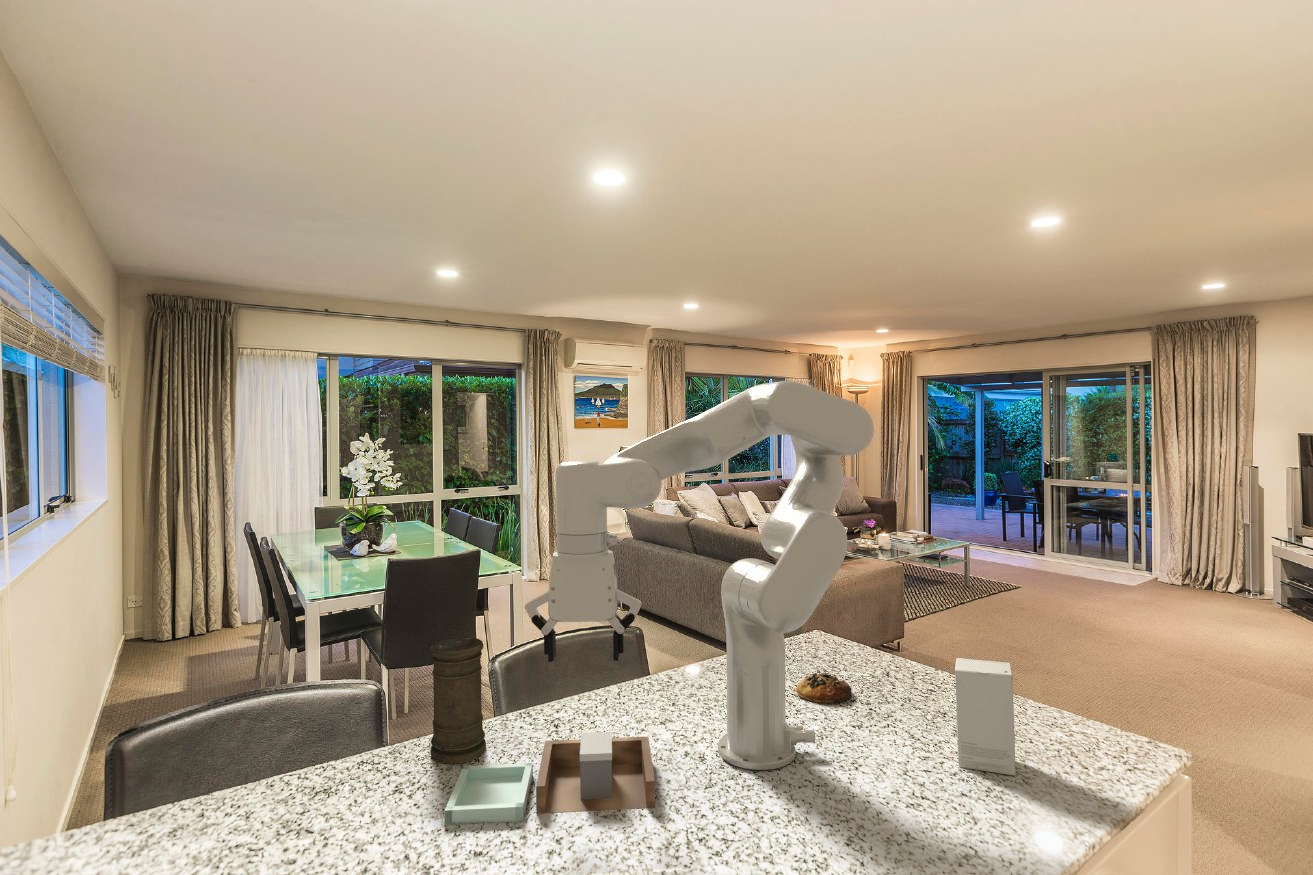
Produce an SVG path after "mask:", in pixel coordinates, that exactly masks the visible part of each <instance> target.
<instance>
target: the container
mask: <svg viewBox="0 0 1313 875" xmlns="http://www.w3.org/2000/svg"><path fill="white" fill-rule="evenodd" d="M483 649H484V642H483V640H481V639H480V638H477V637H470V636H469V637H468V636H466V637H465V636H459V637H451V638H447V639H446V638H445V639H442V640H438V641H436V642H435V643H433V644H432V645H431V647H430V654H431V655H432V658H431V659H432V662H433V670H432V672H431V673H432V675H433V676H432V678H433V679H432V680H433V685H432V686H433V688H432V689H433V719H432V727H433V729H432V730H433V735H432V738H431V739H430V744H431V747H430V750H429V752H430V756H431V759H432V760H433V761H435V762H438V763H439V764H447V765H448V764H449V765H457V764H465V763H468V762H471V761H473V760H474V759H476V758H478V757H479V756H482V755H483V753H484V752H486V748H487V742H486V739H485V737H486V733H485V731H484V728H483V720H484V719H483V718H484V715H483V712H482V710H483V709H482V706H483V705H482V670H483V669H482V668H483V667H482V664H481V662H482V661H481V660H482V659H481V658H482V654H483V652H482V650H483Z"/></svg>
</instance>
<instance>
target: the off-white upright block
mask: <svg viewBox="0 0 1313 875" xmlns="http://www.w3.org/2000/svg"><path fill="white" fill-rule="evenodd" d="M612 736H613V734H612V731H599V732H598V731H597V732H596V731H595V732H593V731H592V732H581V734H580V739H581V745H580V798H581V800H584V799H604V798H612V738H613V737H612Z"/></svg>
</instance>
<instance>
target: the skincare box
mask: <svg viewBox="0 0 1313 875" xmlns="http://www.w3.org/2000/svg"><path fill="white" fill-rule="evenodd" d="M955 659H956V661H955V665H954V666H955V667H954V676H955V677H954V678H955V703H956V704H955V706H956V707H955V708H956V710H955V711H956V733H957V734H956V737H957V739H956V740H957V760H958V762H957V763H958V768H963V769H969V770H975V771H981V772H989V773H995V774H1003V775H1007V776H1016V774H1017V773H1016V742H1015V741H1016V737H1015V736H1016V734H1015V715H1014V714H1015V712H1014V711H1015V710H1014V709H1015V708H1014V706H1015V705H1014V682H1013V681H1014V680H1013V679H1014V675H1013V670H1012V666H1011V663H1010V662H1007V661H1006V662H1002V661H995V660H994V661H992V660H984V659H983V660H981V659H973V658H972V659H970V658H961V657H956V658H955Z"/></svg>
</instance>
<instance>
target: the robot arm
mask: <svg viewBox="0 0 1313 875" xmlns="http://www.w3.org/2000/svg"><path fill="white" fill-rule="evenodd" d="M874 428H875V425H874V422H873V419H872V416H871V415H870V414H869V411H867V410H866V409H865V408H864V407H863V406H861V405H860V404H859V403H856V402H854V401H852V400H849V399H846V398H843V397H840V396H838V395H836V394H835V395H834V394H832V393H829V392H826V391H824V390H820V389H819V388H815V387H813V386H809V385H807V384H803V383H801V382H797V381H793V380H781V381H774V382H767V383H761V384H757V385H754V386H752V387H749V388H747V389H745V390H744V391H742V392H740V393H738V394H736V395H734V396H732V397H729V399H726V400H724V401H723V402H721V403H719V404H717V405H715V406H713V407H711V408H709V409H707V410H705V411H704V412H702V413H700V414H698V415H696V416H694V417H691V418H689V419H687V420H685V421H682V422H680V423H677V424H676V425H674V426H672V427H670V428H668V429H666V430H663V431H662V432H660V433H657V434H655V435H653V436H649V437H647V438H645V439H644V440H641V441H640V442H637V443H635V444H634V445H633V444H632V446H630V447H628V448H626V449H624V450H621V451H620V452H618V453H616V454H614V455H613V456H611V457H609V458H608V459H606V460H605V461H604V462H600V461H598V460H597V461H595V460H573V461H572V460H571V461H564V462H560V463H559V464H558V465H557V467H556V470H555V507H556V508H555V514H556V517H555V518H556V519H555V521H556V522H555V523H556V551H554V552H553V553H552V558H551V562H550V570H549V581H548V590H547V591H545V592H543V593H542V594H540V595H538V596H537V597H535V598H533V599H531V600H528V601H527V602H526V604H524V609H525V611H526V613H527V615H528V617H529V618H530V620H531V623H532V624H533V625H534V626H535V627H536V628H537V629H538V630H539V631H540V633H541V634H542V635H543V654H544V655H545V656H546V655H547V661H548V663H553V662H554V661H555V658H556V655H557V642H556V641H557V638H556V636H557V633H556V632H557V631H556V630H555V629H554V627H555V626H556V624H557V623H597V622H598V623H599V622H607V623H608V624H609V625H610V626H611V627H612V628H613V629H614V630H613V634H612V643H613V644H612V645H613V646H612V649H613V650H612V652H613V655H612V657H613V661H614V662H619V659H620V654H624V650H625V649H624V648H625V647H624V644H625V643H624V632H625V631H626V630H627V629H628V628H629V627H630V626H631V624H633V622H634V621H635V619H636V617H637V615H638V614H639V611H640V609H641V607H642V601H641V600H640V599H639V598H636V597H634V596H632V595H630V594H628V593H626V592H624V591H622V590H620V589H618V578H617V576H618V575H617V566H616V562H615V561H616V560H615V556H614V552H613V550H610V549H609V550H608V548H610V546H613V545H614V546H615V545H616V546H617V545H618V535H612V534H610V533H609V532H608V509H607V508H613V509H614V508H616V509H627V510H638V509H642V508H643V509H644V508H646V507H648V506H650V505H652V504H653V503H654V502H655V501H656V500H657V499H658V497H659V496H660V495H661V491H662V487H663V481H664V480H666V479H668V478H671V477H674V476H677V475H680V474H683V473H688V472H689V473H690V472H694V471H700V470H701V471H702V470H705V469H709V468H712V467H715V466H716V467H717V465H720V464H723V463H724V462H726V461H728V460H729V459H731V458H733V457H735V456H736V455H738V454H740V453H742V452H744V451H746V450H747V449H749V448H750V447H752V446H754V445H756V444H758V443H759V442H761V441H763V440H765V439H767V438H769V437H771V436H775V435H777V436H780V435H782V436H784V435H785V436H786V435H787V436H790V440H791V442H792V446H793V449H794V453H795V461H796V462H795V463H796V464H795V465H796V466H795V470H794V474H793V476H792V479H791V480H790V482H789V484H788V485H787V487H786V489H785V490H784V492H783V494H782V495H781V497H780V499H779V500H778V502H777V503H776V505H775V506H774V508H773V509H772V511H771V513H770V514H769V516H768V517H767V519H766V520H765V523H764V524H763V527H762V529H761V533H760V542H761V546H762V548H763V549H764V551H766V552H767V554H768V555H769V556H771V557H773V559H774V558H775V559H777V561H776V564H774V563H771V562H768V561H765V560H763V559H758V558H753V557H751V558H749V557H748V558H743V559H739V560H737V561H734V562H733V563H732V564H731V565H730V566H728V568H727V569H726V571H725V573H724V575H723V577H722V581H721V585H720V586H721V587H720V597H721V605H722V610H723V618H724V623H725V624H724V625H725V637H726V638H725V640H726V732H727V733H726V734H725V735H723V736H722V737H721V738H720V739H719V740H718V743H717V752H718V755H719V756H720V757H721V758H722V759H723V760H724V761H725V762H726V763H728V764H730V765H732V766H735V767H739V768H742V769H745V770H753V771H754V770H755V771H769V770H775V769H776V770H777V769H780V768H783V767H786V766H788V765H789V764H791V763H792V762H793V761H794V759H795V757H796V746H797V744H798V743H804V744H811V743H816V733H815V730H814V729H805V730H804V726H803V725H793V726H792V725H790V726H789V724H788V723H787V721H786V714H787V713H786V710H787V709H786V643H785V635H784V634H786V633H791V632H794V631H797V630H799V629H800V628H801V627H802V626H803V625H805V624H806V622H807V621H808V620H809V619H810V617H811V616H812V615H813V613H814V612H815V610H816V609H817V607H818V606H819V604H820V602H821V600H822V599H823V597H824V595H825V594H826V591H828V588H829V587H830V585H831V584H832V581H833V580H834V578H835V576H836V575H837V573H838V572H839V570H840V568H841V566H842V565H843V562H844V560H845V557H846V554H847V548H848V536H847V531H846V530H847V529H846V528H845V526H844V524H843V522H842V521H841V520H840V519H839V518H838V517H837V516H836V515H834V514H833V512H834V510H835V508H836V506H837V505H838V503H839V501H840V498H841V496H842V494H843V491H844V472H843V471H844V470H843V466H842V461H841V457H843V456H844V457H850V456H855V455H857V454H859V453H861V452H863V451H864V450H866V449H867V448H868V447H869V446H870V444H871V442H872V441H873V438H874V432H875V429H874ZM840 456H841V457H840ZM619 602H620V603H622V604H624V605H627V606H628V607H629V609H628V612H627V614H625V616H623V618H621V616H620V615H619V614H618V613H617V611H618V608H619ZM546 603H547V604H548V605H547V607H548V608H547V609H548V610H547V612H548V617H549V618H548V619H547V620H546V618H544V616H542V614H540V613H539V610H538V608H539V607H541V606H543V605H545V604H546Z"/></svg>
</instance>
